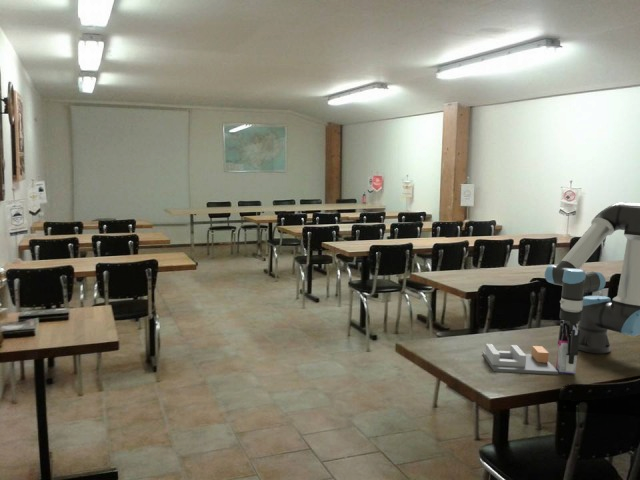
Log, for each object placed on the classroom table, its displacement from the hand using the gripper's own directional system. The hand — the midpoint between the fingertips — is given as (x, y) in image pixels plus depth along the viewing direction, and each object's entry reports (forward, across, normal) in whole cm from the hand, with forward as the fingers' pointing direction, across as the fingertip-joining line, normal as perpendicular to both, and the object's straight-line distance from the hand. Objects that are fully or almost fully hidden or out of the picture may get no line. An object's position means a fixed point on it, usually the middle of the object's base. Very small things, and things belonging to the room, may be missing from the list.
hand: (565, 367), depth 209 cm
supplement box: (+2, 0, 0) cm, 2 cm away
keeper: (0, -9, -7) cm, 11 cm away
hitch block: (+2, -6, -16) cm, 17 cm away
